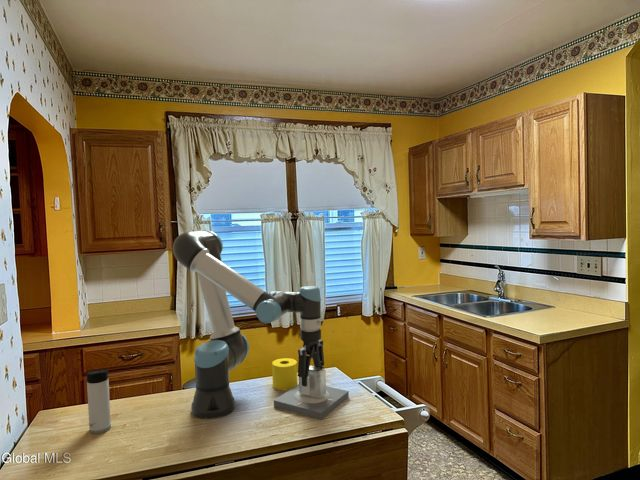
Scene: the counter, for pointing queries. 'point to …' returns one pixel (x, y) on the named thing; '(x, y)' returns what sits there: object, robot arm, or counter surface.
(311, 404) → the dial plate
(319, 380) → the dial handle
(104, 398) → the travel mug
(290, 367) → the yellow toilet paper roll
